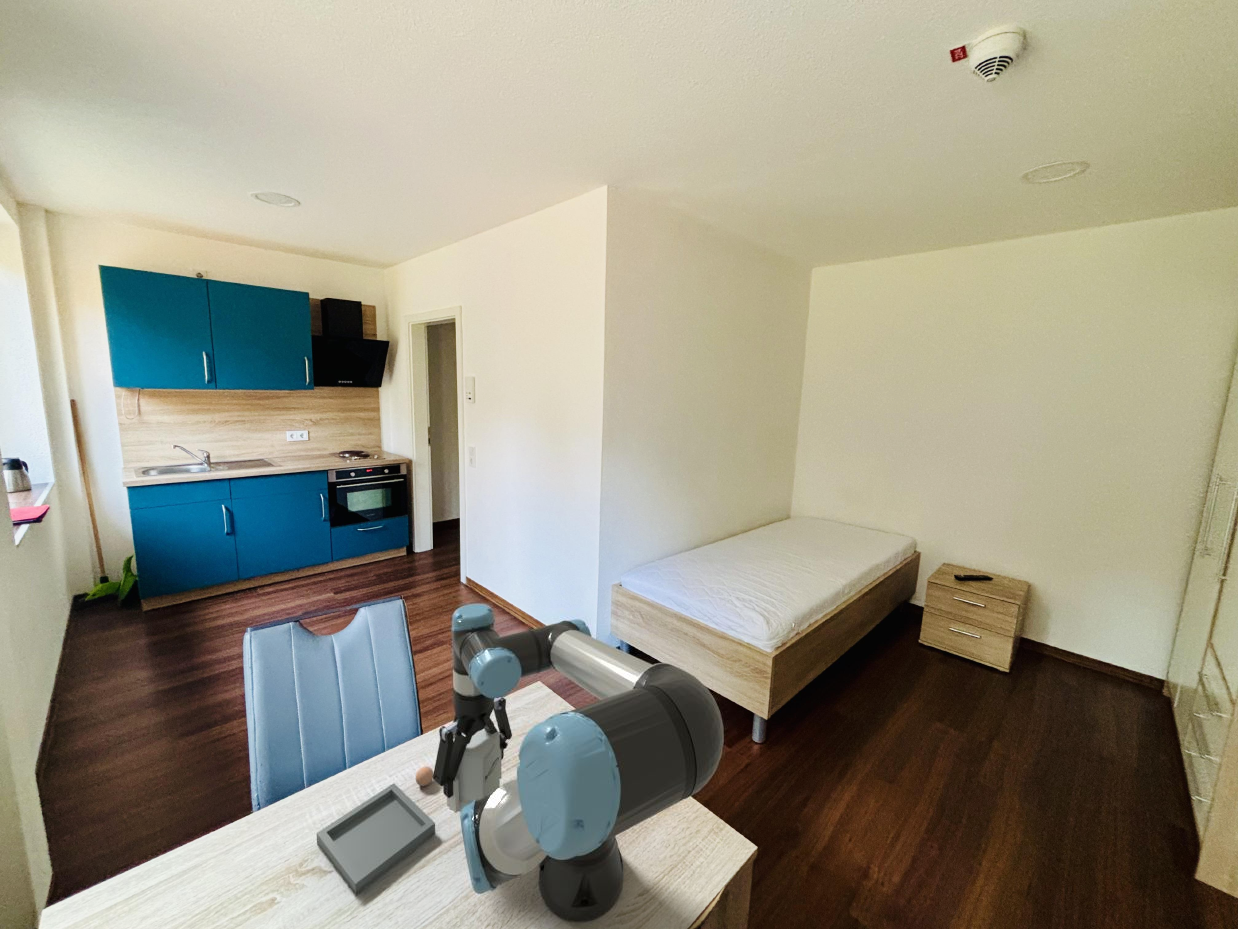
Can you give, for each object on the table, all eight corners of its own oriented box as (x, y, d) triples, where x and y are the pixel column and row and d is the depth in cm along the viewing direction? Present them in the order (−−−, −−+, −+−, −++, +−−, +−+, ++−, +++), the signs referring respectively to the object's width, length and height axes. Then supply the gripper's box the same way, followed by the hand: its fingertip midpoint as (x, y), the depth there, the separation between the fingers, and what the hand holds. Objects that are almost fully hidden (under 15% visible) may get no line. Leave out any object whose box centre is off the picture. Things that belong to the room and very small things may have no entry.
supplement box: (483, 818, 92) (483, 757, 90) (448, 810, 94) (446, 750, 92) (501, 788, 99) (500, 731, 97) (467, 781, 101) (466, 725, 99)
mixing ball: (436, 782, 107) (436, 768, 106) (421, 793, 104) (421, 778, 103) (427, 774, 109) (427, 760, 108) (412, 784, 106) (412, 769, 106)
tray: (435, 834, 95) (435, 823, 94) (355, 896, 83) (355, 884, 82) (394, 793, 104) (393, 783, 103) (317, 844, 92) (316, 833, 91)
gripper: (506, 655, 104) (506, 751, 107) (408, 706, 86) (412, 818, 90) (530, 668, 100) (530, 767, 103) (433, 723, 82) (436, 841, 85)
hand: (475, 791), depth 96 cm, fingers closed on supplement box, 9 cm apart
